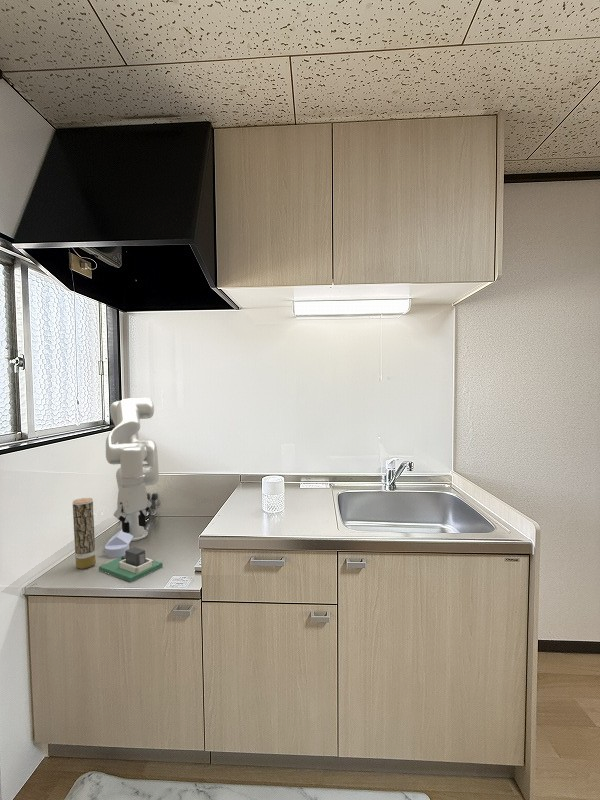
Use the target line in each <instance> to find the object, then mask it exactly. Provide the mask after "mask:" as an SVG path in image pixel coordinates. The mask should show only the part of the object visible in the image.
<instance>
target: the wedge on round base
mask: <svg viewBox="0 0 600 800" xmlns="http://www.w3.org/2000/svg"><path fill="white" fill-rule="evenodd" d="M132 538H133V536H132V535H131V534H129V533H125V532H123V531H122V530H119V531H118V532H116V533H115V534H114V535H113V536H111V537H110V538H109V540H108V541H107V543H106V544H105V545H104V555H105V557H106V558H109V557H111V559H113V558H115V557H116V558H120V557H122V556H124V555H126V554H125V551H126V550H128V549H130V543H131V542H132V541H131V540H132ZM116 558H115V559H116Z"/></svg>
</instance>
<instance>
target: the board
mask: <svg viewBox="0 0 600 800" xmlns="http://www.w3.org/2000/svg"><path fill="white" fill-rule="evenodd" d="M160 568H163V562H161V561H158V560H155V559H151V558H149V557H146V563H144V564H142V565H140V566H138V567H136V566H133V565H130V564H127V563H126V555H124V556H121V557H116V558H115V559H114V560H111V561H108V562H106V563H104V564H101V565H99V566H98V571H100V570H101V571H100V572H102V571H103V573H105V572H106V574H108V573H109V574H108V575H110V574H111V576H113V575H114V576H113V577H116V578H119V579H122V580H123V581H126V582H129V583H132V582H134V581H137V580H139V579H141V578H143V577H144V575H145V576H146V574H147V575H149V574H151V573H153V572H155V571H157V570H159V569H160ZM150 572H151V573H150ZM148 573H149V574H148ZM142 576H143V577H142Z"/></svg>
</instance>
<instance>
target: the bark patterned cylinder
mask: <svg viewBox="0 0 600 800" xmlns="http://www.w3.org/2000/svg"><path fill="white" fill-rule="evenodd" d="M72 516H73V519H72V521H73V535H74V536H73V537H74V555H75V566H76V568H78V569H80V570H81V569H84V568H85V569H88V568H92V567H93V566H95V565H96V561H97V560H96V559H97V558H96V539H95V519H94V517H95V516H94V499H93V498H91V497H82V498H77V499H74V500H72Z"/></svg>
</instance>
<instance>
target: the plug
mask: <svg viewBox="0 0 600 800" xmlns="http://www.w3.org/2000/svg"><path fill="white" fill-rule="evenodd" d="M125 554H126V563H127V564H130V565H133V566H136V567H138V566H140V565H142V564H144V563H146V558H147V557H146V550H145V549H143V548H139V547H136V546H133V547H131V548H129V549H128V550H126V551H125Z"/></svg>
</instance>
